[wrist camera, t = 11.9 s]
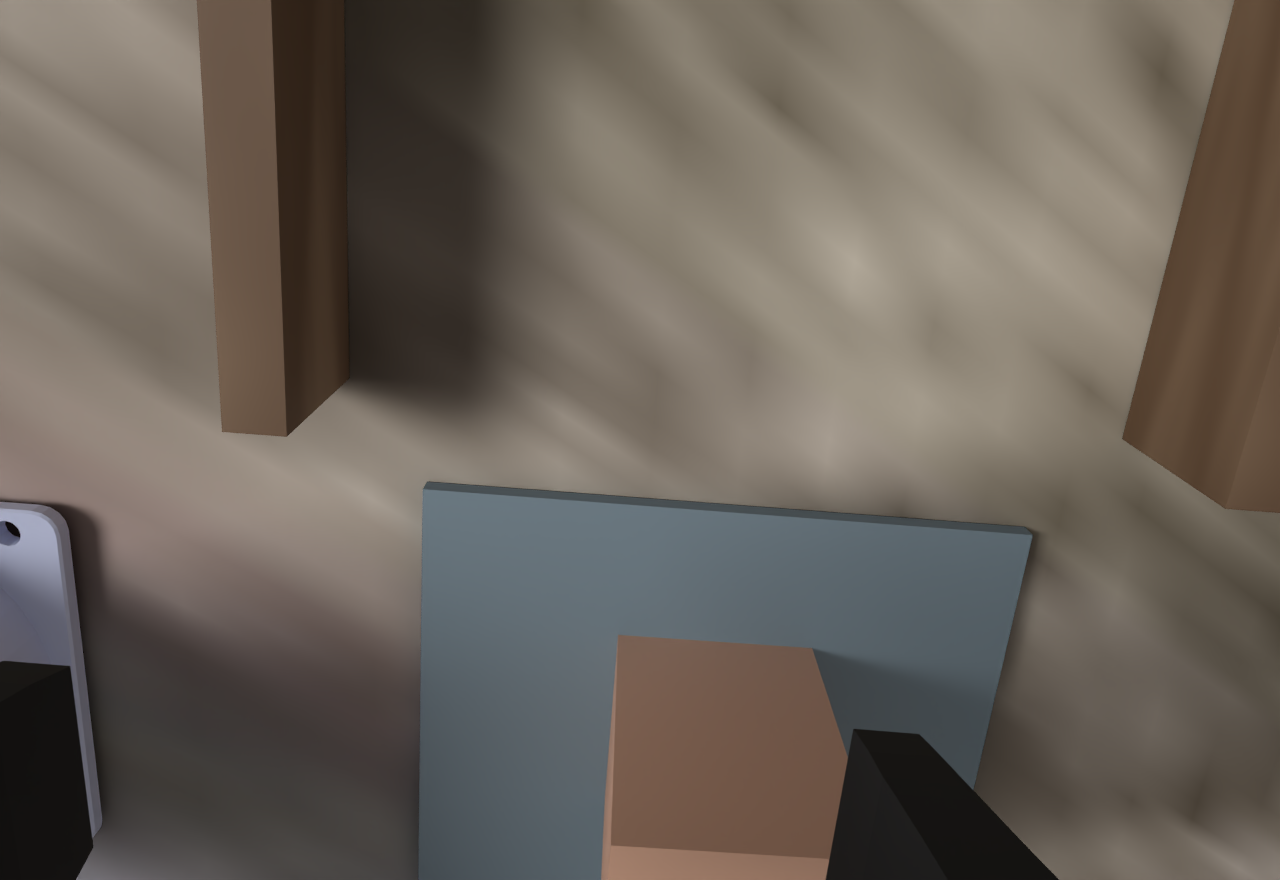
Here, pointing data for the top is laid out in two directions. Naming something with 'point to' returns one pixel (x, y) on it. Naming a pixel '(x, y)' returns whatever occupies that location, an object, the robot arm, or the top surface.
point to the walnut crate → (318, 250)
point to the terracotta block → (720, 763)
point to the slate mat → (678, 609)
